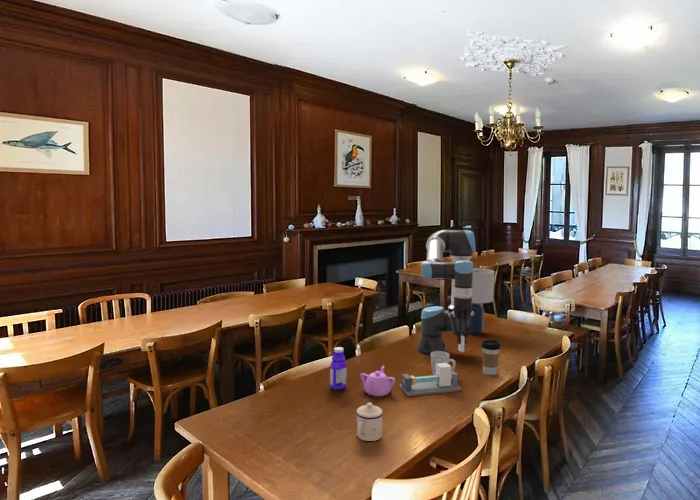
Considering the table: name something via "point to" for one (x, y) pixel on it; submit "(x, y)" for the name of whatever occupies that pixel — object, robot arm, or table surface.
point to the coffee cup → (490, 356)
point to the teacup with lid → (369, 422)
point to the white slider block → (443, 374)
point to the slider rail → (427, 385)
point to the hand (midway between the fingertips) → (461, 350)
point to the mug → (440, 360)
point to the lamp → (481, 295)
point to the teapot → (377, 383)
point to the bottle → (338, 369)
